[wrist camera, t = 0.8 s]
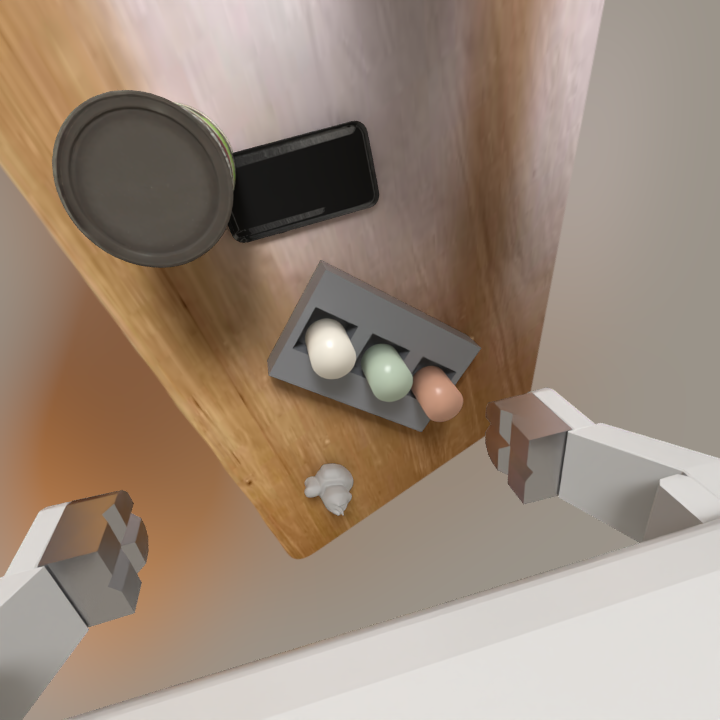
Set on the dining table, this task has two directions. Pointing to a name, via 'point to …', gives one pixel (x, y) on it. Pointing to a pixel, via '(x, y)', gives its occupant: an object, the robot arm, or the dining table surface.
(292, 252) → the dining table surface
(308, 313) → the grey rectangular tray
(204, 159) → the coffee can
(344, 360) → the ivory button
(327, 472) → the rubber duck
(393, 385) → the sage button
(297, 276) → the dining table surface
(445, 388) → the terracotta button
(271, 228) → the phone
